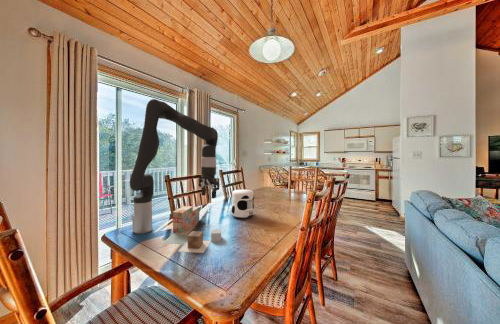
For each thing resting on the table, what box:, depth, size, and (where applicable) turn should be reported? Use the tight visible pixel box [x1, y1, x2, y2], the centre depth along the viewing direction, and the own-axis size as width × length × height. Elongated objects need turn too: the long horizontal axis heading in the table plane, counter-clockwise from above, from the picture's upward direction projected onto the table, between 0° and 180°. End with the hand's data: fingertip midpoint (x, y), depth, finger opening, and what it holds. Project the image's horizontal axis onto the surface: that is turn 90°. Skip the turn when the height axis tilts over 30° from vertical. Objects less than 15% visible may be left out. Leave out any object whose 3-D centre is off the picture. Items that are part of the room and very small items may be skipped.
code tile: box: [178, 239, 212, 254], centre depth 95 cm, size 12×12×1 cm
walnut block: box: [187, 230, 204, 249], centre depth 95 cm, size 6×6×6 cm
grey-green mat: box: [162, 233, 189, 245], centre depth 103 cm, size 11×11×1 cm
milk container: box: [230, 189, 256, 219], centre depth 141 cm, size 17×17×18 cm
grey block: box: [210, 228, 222, 243], centre depth 103 cm, size 5×5×5 cm
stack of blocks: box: [172, 205, 200, 233], centre depth 121 cm, size 21×6×12 cm, turn 169°
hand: (208, 196), depth 102 cm, fingers open, 8 cm apart
